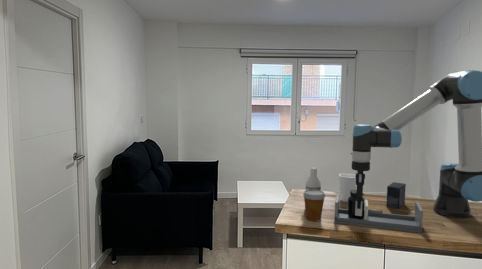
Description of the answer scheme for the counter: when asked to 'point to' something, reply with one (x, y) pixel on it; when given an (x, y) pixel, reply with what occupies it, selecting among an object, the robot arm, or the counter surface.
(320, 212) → the disposable coffee cup
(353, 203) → the supplement bottle
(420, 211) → the tray
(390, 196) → the small box
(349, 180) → the foam cup
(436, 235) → the counter surface
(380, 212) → the pusher
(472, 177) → the robot arm
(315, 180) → the bath foam
